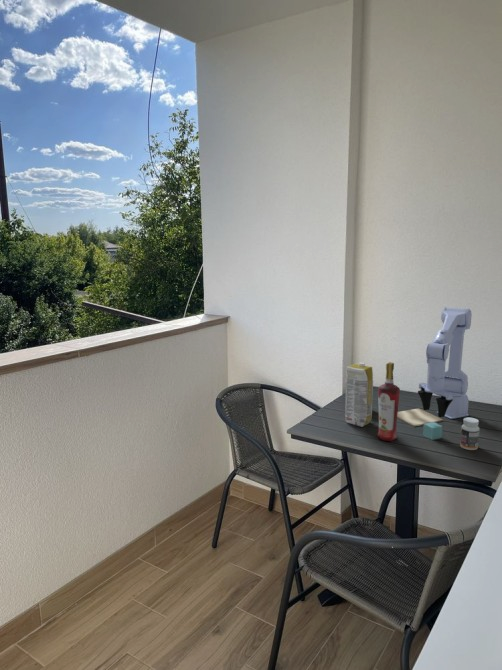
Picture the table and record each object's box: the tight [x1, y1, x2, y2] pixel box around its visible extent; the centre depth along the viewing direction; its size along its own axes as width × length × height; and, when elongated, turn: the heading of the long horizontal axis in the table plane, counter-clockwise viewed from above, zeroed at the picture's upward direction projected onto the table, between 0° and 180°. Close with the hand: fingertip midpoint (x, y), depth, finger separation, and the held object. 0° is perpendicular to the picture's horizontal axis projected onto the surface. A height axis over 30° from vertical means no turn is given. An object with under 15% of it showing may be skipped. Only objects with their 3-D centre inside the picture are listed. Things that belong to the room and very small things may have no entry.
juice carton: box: [344, 362, 374, 428], centre depth 184 cm, size 9×8×24 cm
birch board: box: [397, 408, 444, 427], centre depth 190 cm, size 14×14×1 cm
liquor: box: [376, 361, 401, 442], centre depth 168 cm, size 7×7×28 cm
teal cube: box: [422, 422, 444, 441], centre depth 171 cm, size 4×4×4 cm
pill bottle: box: [459, 416, 481, 451], centre depth 161 cm, size 6×6×10 cm
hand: (433, 413), depth 170 cm, fingers open, 7 cm apart
